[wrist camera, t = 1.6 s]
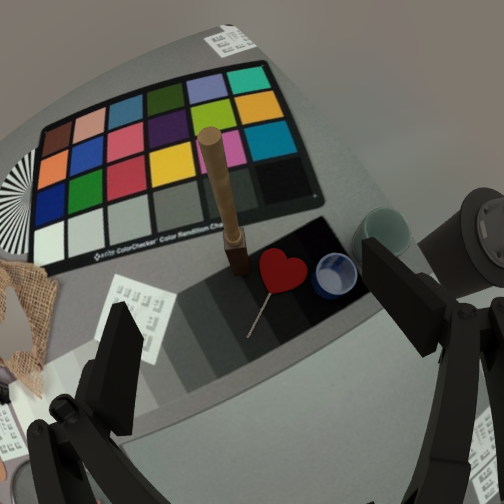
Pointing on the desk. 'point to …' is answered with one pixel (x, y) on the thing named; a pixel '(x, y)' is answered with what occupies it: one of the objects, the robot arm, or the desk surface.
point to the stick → (220, 181)
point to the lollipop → (279, 274)
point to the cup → (383, 231)
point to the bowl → (334, 276)
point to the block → (237, 255)
